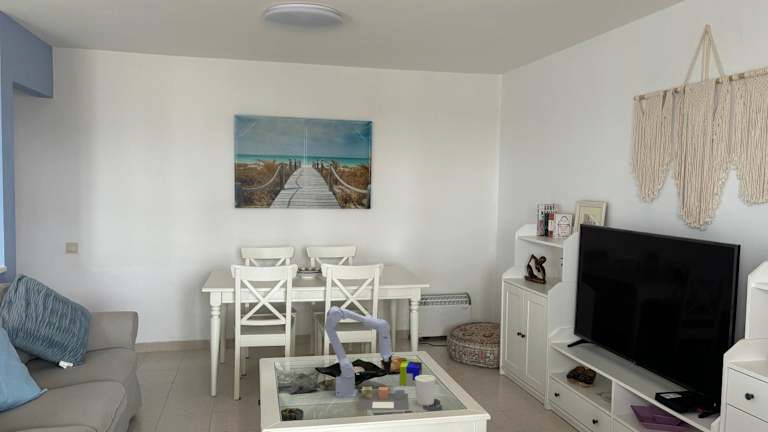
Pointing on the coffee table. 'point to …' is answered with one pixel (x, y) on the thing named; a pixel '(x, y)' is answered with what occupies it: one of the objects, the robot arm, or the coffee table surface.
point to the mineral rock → (303, 383)
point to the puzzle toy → (410, 372)
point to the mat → (383, 403)
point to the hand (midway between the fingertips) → (388, 371)
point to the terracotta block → (383, 392)
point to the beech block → (367, 393)
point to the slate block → (399, 392)
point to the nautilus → (396, 363)
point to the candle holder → (425, 389)
